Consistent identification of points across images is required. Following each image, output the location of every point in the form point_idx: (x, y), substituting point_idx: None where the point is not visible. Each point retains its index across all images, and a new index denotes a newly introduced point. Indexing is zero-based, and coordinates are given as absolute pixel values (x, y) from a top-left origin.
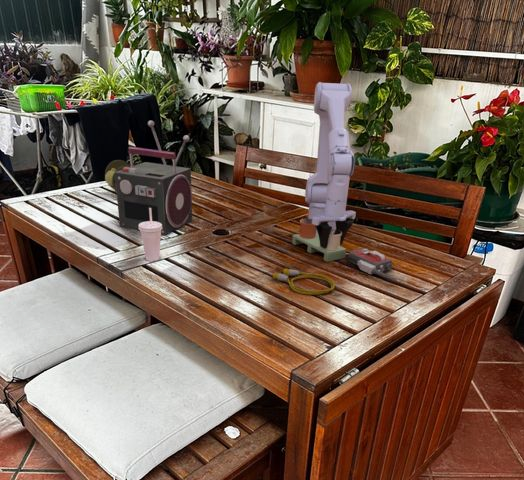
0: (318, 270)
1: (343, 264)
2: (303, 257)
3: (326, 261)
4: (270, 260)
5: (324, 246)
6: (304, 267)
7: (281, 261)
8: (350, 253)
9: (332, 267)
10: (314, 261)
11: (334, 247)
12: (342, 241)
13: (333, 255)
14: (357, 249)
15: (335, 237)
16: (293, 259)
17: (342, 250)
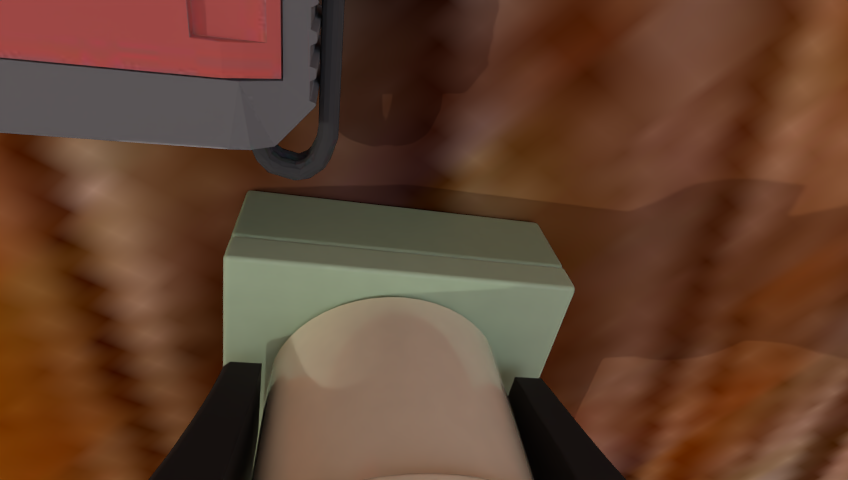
0: (820, 116)
1: (444, 54)
2: (595, 396)
3: (534, 231)
4: (812, 454)
5: (555, 400)
6: (814, 248)
7: (787, 414)
8: (310, 92)
9: (637, 76)
10: (612, 296)
11: (447, 331)
12: (224, 395)
13: (464, 247)
14: (77, 113)
15: (484, 472)
16: (691, 403)
17: (308, 256)
